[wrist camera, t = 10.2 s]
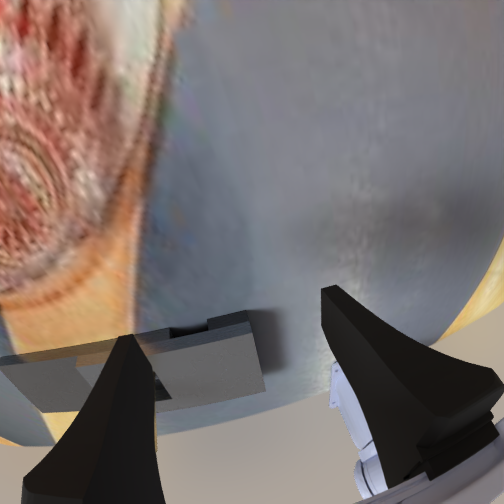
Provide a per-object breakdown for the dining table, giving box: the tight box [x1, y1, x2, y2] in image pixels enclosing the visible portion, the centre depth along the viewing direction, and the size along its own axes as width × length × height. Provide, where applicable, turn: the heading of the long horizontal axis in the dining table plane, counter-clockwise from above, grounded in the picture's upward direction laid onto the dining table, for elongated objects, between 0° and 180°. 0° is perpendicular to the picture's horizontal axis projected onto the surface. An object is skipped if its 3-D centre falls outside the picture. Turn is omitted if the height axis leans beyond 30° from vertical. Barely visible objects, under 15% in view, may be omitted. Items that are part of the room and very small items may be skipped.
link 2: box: [75, 310, 266, 413], centre depth 25 cm, size 8×14×2 cm, turn 99°
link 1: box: [0, 328, 174, 413], centre depth 25 cm, size 8×18×1 cm, turn 99°
